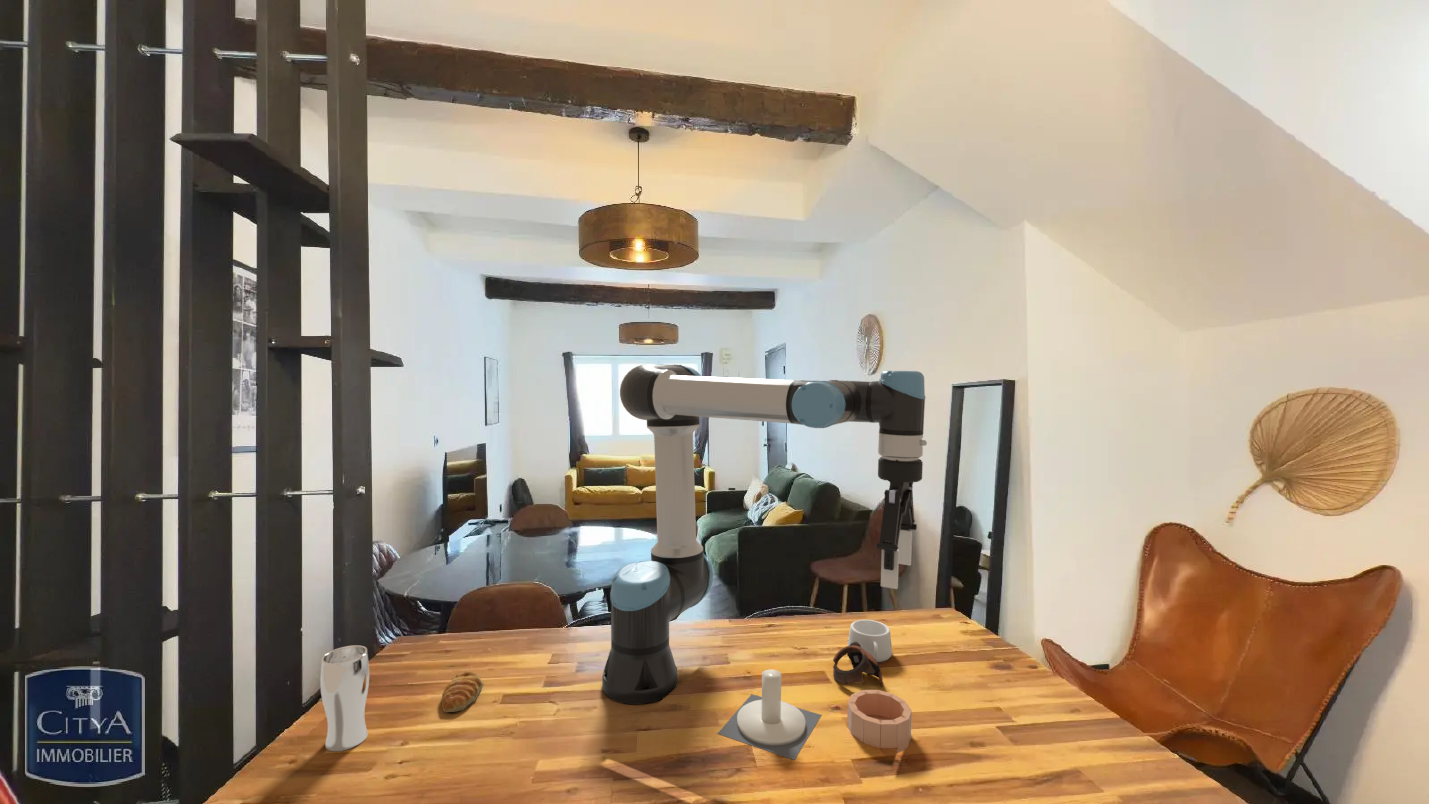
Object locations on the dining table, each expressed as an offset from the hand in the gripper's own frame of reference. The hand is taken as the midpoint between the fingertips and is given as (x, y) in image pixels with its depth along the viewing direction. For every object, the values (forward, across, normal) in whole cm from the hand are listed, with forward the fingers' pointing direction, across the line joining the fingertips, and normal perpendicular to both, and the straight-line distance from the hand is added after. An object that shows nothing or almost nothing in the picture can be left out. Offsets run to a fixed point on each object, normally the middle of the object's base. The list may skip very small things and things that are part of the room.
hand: (896, 575), depth 103 cm
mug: (+27, +23, +9) cm, 37 cm away
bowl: (+27, -5, +1) cm, 27 cm away
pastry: (+28, -32, +74) cm, 86 cm away
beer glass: (+28, -50, +81) cm, 99 cm away
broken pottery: (+27, +11, +9) cm, 31 cm away
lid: (+26, -13, +18) cm, 34 cm away
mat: (+27, -13, +18) cm, 35 cm away
